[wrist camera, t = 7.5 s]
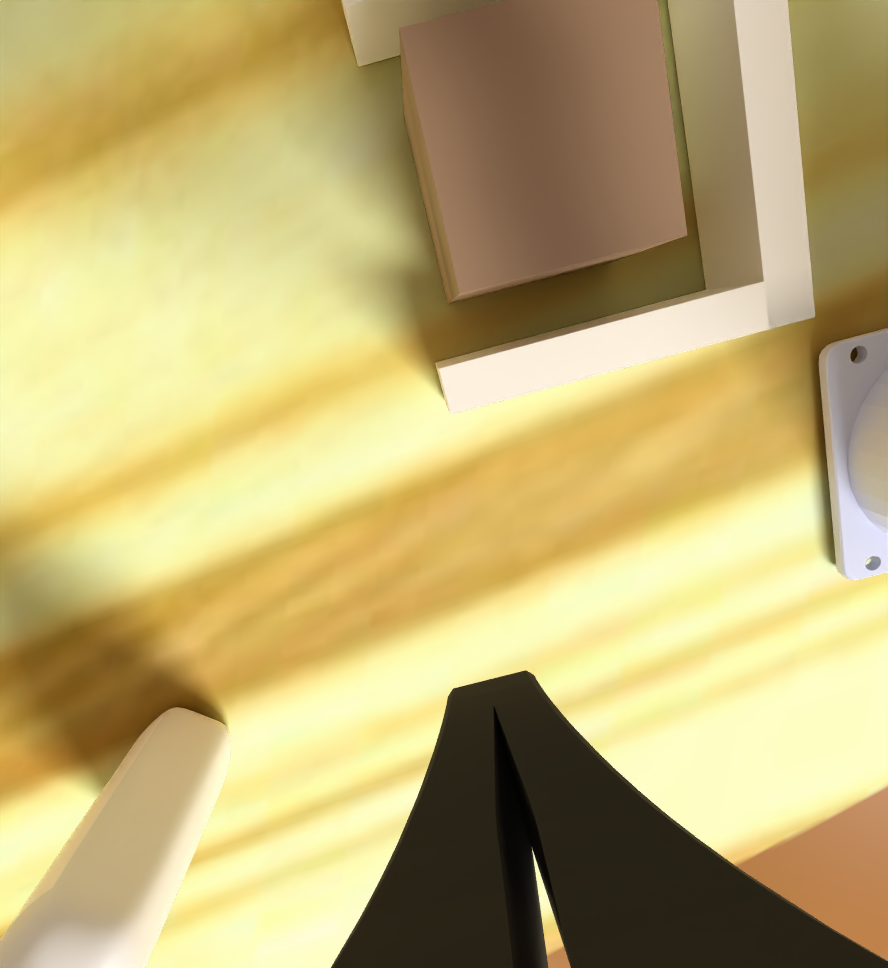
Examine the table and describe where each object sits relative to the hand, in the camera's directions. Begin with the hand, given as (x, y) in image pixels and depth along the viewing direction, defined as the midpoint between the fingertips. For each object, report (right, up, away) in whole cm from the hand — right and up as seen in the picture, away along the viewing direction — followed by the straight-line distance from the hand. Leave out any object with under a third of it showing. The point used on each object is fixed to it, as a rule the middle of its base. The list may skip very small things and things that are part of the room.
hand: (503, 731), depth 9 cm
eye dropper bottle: (-11, -6, +12) cm, 17 cm away
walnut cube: (+1, +12, +7) cm, 14 cm away
